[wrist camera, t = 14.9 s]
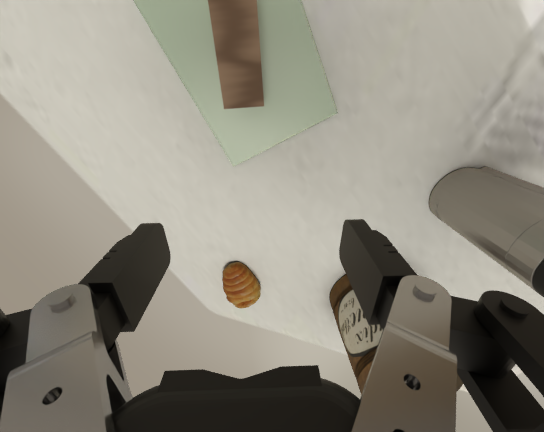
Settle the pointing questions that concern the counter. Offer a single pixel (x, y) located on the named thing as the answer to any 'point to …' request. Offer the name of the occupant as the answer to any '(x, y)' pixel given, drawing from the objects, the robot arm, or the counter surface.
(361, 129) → the counter surface
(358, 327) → the wooden container
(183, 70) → the green board
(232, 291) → the pastry
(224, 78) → the walnut block
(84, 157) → the counter surface
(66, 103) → the counter surface
